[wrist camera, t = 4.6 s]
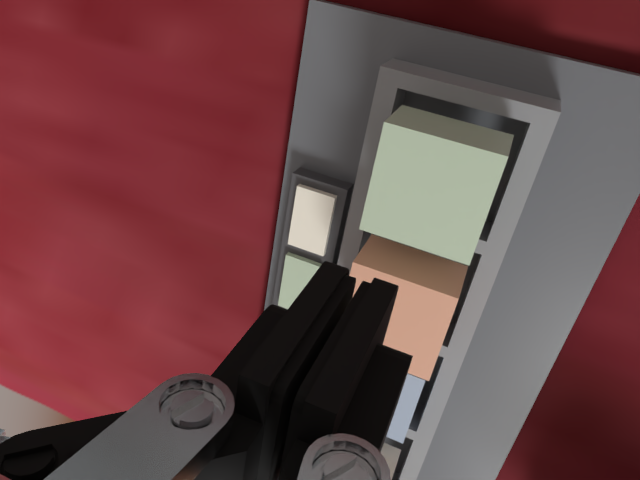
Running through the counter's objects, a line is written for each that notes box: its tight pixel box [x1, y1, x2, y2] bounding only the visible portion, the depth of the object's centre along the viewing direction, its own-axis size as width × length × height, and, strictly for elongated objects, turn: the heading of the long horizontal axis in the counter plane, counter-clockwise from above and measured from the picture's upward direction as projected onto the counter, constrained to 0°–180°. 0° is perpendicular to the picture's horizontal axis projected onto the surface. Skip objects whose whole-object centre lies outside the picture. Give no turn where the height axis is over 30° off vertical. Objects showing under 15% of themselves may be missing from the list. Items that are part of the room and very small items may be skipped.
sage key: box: [359, 105, 514, 265], centre depth 20 cm, size 4×4×2 cm
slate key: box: [386, 373, 425, 444], centre depth 26 cm, size 4×4×2 cm
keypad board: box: [264, 0, 640, 480], centre depth 26 cm, size 14×25×2 cm, turn 170°
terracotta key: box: [350, 234, 468, 381], centre depth 22 cm, size 4×4×2 cm
